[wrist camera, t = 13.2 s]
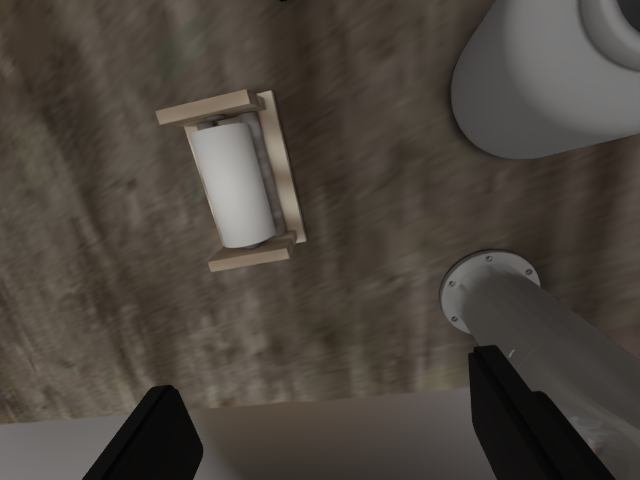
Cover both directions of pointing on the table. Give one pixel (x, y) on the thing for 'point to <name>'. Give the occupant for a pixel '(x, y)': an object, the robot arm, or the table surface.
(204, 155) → the paper roll
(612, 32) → the jar
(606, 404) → the robot arm
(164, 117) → the roll cradle
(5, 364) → the table surface
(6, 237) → the table surface
